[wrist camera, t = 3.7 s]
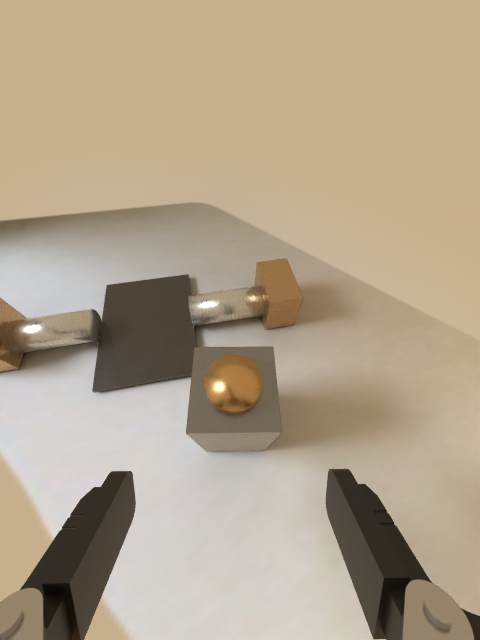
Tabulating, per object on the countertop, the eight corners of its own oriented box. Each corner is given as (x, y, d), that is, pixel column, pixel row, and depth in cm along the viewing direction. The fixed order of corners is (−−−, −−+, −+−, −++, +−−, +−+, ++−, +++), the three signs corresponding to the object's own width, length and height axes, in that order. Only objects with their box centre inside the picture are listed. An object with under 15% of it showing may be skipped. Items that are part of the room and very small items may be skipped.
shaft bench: (-34, 415, 20) (-95, 400, 16) (11, 300, 26) (-25, 271, 23) (304, 355, 23) (317, 332, 20) (272, 265, 30) (277, 235, 26)
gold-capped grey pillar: (263, 450, 19) (284, 429, 11) (206, 451, 19) (182, 430, 11) (260, 393, 21) (275, 339, 13) (209, 394, 21) (192, 340, 13)
